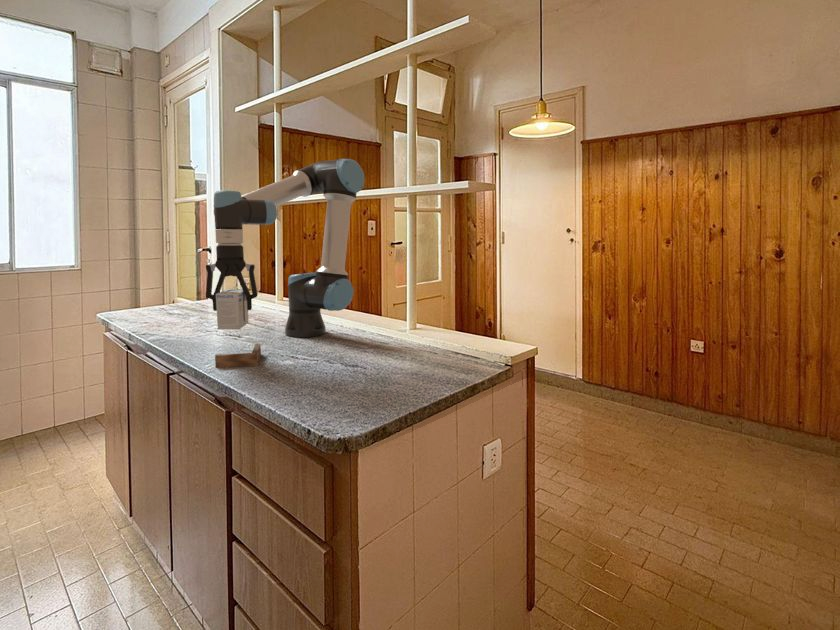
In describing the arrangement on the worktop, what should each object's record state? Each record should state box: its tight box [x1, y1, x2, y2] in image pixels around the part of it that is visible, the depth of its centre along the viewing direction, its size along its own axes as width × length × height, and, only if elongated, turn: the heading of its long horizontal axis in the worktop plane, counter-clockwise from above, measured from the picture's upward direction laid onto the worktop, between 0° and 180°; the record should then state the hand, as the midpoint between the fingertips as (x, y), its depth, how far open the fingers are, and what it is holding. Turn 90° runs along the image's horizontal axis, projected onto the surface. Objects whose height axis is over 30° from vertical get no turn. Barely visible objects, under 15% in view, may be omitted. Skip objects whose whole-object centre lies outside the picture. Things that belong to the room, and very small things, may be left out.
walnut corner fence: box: [214, 343, 262, 368], centre depth 157 cm, size 12×14×4 cm
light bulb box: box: [216, 288, 249, 331], centre depth 155 cm, size 11×7×11 cm, turn 5°
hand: (233, 321), depth 156 cm, fingers closed on light bulb box, 7 cm apart
